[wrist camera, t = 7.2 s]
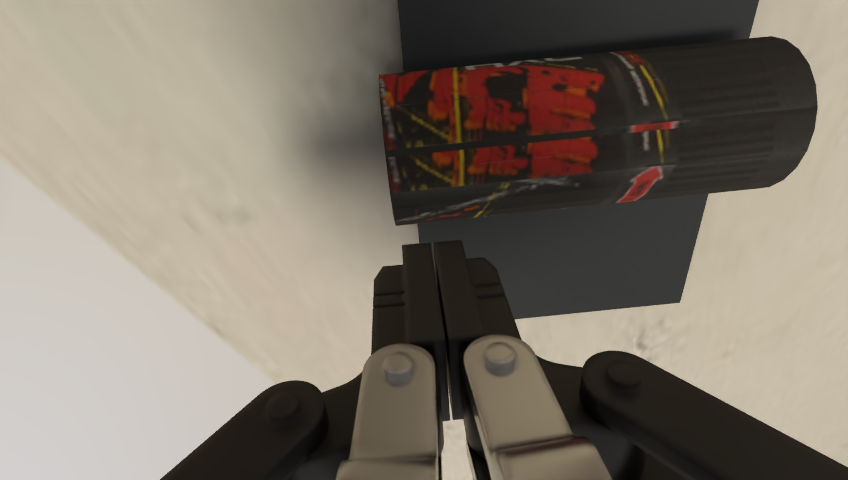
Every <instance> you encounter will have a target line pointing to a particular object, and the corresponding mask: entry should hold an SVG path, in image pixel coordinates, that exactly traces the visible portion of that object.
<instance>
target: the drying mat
mask: <svg viewBox="0 0 848 480" xmlns="http://www.w3.org/2000/svg"><path fill="white" fill-rule="evenodd" d="M758 2H759V0H398V8H399V20H400V31H401V42H402V53H403V64H404V72H414V71H424V70H434V69H444V68H454V67H464V66H475V65H485V64H495V63H505V62H515V61H526V60H536V59H546V58H556V57H566V56H576V55H587V54H597V53H607V52H617V51H627V50H638V49H648V48H658V47H668V46H678V45H689V44H699V43H709V42H719V41H729V40H739V39H749V36H750V33H751V29H752V25H753V21H754V17H755V14H756V10H757V6H758ZM707 197H708V194H698V195H688V196H679V197H669V198H659V199H650V200H640V201H630V202H621V203H611V204H601V205H592V206H582V207H572V208H563V209H553V210H543V211H534V212H524V213H514V214H505V215H495V216H485V217H476V218H466V219H456V220H447V221H437V222H427V223H418V231H419V242H420V243H431V249H432V255H433V242H441V241H452V240H462V243H463V247H464V251H465V255H466V259H470V258H480V257H485V258H486V259H487V260H488V261H489V262H490V263H491V264H492V265H493V266H495V267H496V268H497V271H498V274H499V277H500V280H501V284H502V285H503V288H504V291H505V296H506V297H507V300H508V303H509V306H510V309H511V311H512V314H513V317H514V319H521V318H531V317H541V316H551V315H561V314H571V313H581V312H591V311H601V310H610V309H620V308H630V307H640V306H650V305H660V304H670V303H680V300H681V296H682V293H683V289H684V285H685V281H686V277H687V273H688V270H689V266H690V262H691V258H692V254H693V251H694V247H695V243H696V239H697V235H698V231H699V228H700V224H701V220H702V216H703V212H704V208H705V205H706V201H707ZM433 262H434V257H433Z"/></svg>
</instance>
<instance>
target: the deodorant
mask: <svg viewBox="0 0 848 480" xmlns="http://www.w3.org/2000/svg"><path fill="white" fill-rule="evenodd" d="M379 91H380V105H381V116H382V127H383V136H384V146H385V155H386V163H387V172H388V180H389V188H390V195H391V202H392V209H393V215H394V220H395V224H396V226H398V225H408V224H418V223H427V222H437V221H447V220H456V219H466V218H476V217H485V216H495V215H505V214H514V213H524V212H534V211H543V210H553V209H563V208H572V207H582V206H592V205H601V204H611V203H621V202H630V201H640V200H650V199H659V198H669V197H679V196H688V195H698V194H708V193H717V192H727V191H737V190H746V189H756V188H764V187H770V186H772V185H774V184H776V183H778V182H780V181H782V180H784V179H785V178H786V177H787V176H788V175H789V174H790V173H791V172H792V171H793V170H794V169H795V168H796V167H797V166H798V164H799V163H800V161H801V159H802V158H803V156H804V155H805V153H806V152H807V149H808V147H809V144H810V141H811V138H812V135H813V132H814V130H815V122H816V115H817V107H818V106H817V94H816V84H815V81H814V77H813V74H812V71H811V68H810V65H809V63H808V62H807V60H806V59H805V57H804V56H803V55H802V53H801V52H800V50H799V49H798V48H797V47H795V46H794V45H792V44H791V43H790V42H788V41H787V40H785V39H780V38H776V37H772V36H770V37H760V38H750V39H739V40H729V41H719V42H709V43H699V44H689V45H678V46H668V47H658V48H648V49H638V50H627V51H617V52H607V53H597V54H587V55H576V56H566V57H556V58H546V59H536V60H526V61H515V62H505V63H495V64H485V65H475V66H464V67H454V68H444V69H434V70H424V71H414V72H403V73H393V74H383V75H379Z"/></svg>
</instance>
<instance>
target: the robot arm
mask: <svg viewBox="0 0 848 480" xmlns="http://www.w3.org/2000/svg"><path fill="white" fill-rule="evenodd" d="M402 252H403V265H395V266H384V267H382V269H381V270H380V272H379V273H378V275H377V276H376V278H375V279H374V297H373V324H372V351H371V356H370V357H369V358H368V360H367V361H366V363H365V365H364V368H363V371H362V372H361V373H360V374H359V375H358V376H357V377H356V378H354V379H353V380H351V381H349V382H348V383H346V384H343V385H341V386H339V387H336V388H333V389H330V390H328V391H325V392H322V393H321V391H320V390H319V389H318V388H317V387H316V386H314V385H313V384H311V383H308V382H305V381H297V380H296V381H286V382H282V383H279V384H276V385H274V386H272V387H270V388H268V389H266V390H265V391H263V392H262V393H261V394H259V395H258V396H257V397H256V398H255V399H254V400H252V401H251V402H250V403H249V404H248V405H246V406H245V407H244V408H243V409H242V410H241V411H239V412H238V413H237V414H236V415H235V416H234V417H232V418H231V419H230V420H229V421H228V422H227V423H226V424H224V425H223V426H222V427H221V428H220V429H219V430H218V431H216V432H215V433H214V434H213V435H211V436H210V437H209V438H208V439H207V440H206V441H204V442H203V443H202V444H201V445H200V446H199V447H198V448H196V449H195V450H194V451H193V452H192V453H190V454H189V455H188V456H187V457H186V458H185V459H183V460H182V461H181V462H180V463H179V464H178V465H176V466H175V467H174V468H173V469H172V470H171V471H169V472H168V473H167V474H166V475H165V476H164V477H162V478H161V479H160V480H442V450H443V445H444V435H443V421H449V420H450V413H449V396H448V388H449V395H450V402H451V409H452V416H453V420H457V419H464V425H465V431H466V448H467V456H468V460H469V464H470V468H471V472H472V476H473V480H848V467H846V466H844V465H842V464H840V463H838V462H837V461H835V460H833V459H831V458H829V457H827V456H825V455H823V454H821V453H820V452H818V451H816V450H814V449H812V448H810V447H808V446H806V445H804V444H803V443H801V442H799V441H797V440H795V439H793V438H791V437H789V436H788V435H786V434H784V433H782V432H780V431H778V430H776V429H774V428H772V427H771V426H769V425H767V424H765V423H763V422H761V421H759V420H757V419H755V418H754V417H752V416H750V415H748V414H746V413H744V412H742V411H740V410H738V409H737V408H735V407H733V406H731V405H729V404H727V403H725V402H723V401H722V400H720V399H718V398H716V397H714V396H712V395H710V394H708V393H706V392H705V391H703V390H701V389H699V388H697V387H695V386H693V385H691V384H689V383H688V382H686V381H684V380H682V379H680V378H678V377H676V376H674V375H672V374H671V373H669V372H667V371H665V370H663V369H661V368H659V367H657V366H656V365H654V364H652V363H650V362H648V361H646V360H644V359H642V358H640V357H638V356H636V355H633V354H630V353H626V352H621V351H604V352H600V353H597V354H595V355H593V356H591V357H590V358H589V359H588V360H587V361H586V362H585V364H584V366H583V368H582V367H576V366H569V365H563V364H557V363H553V362H550V361H547V360H544V359H542V358H540V357H538V356H537V355H535V353H534V351H533V350H532V349H531V347H530V346H529V345H527V344H526V343H525V342H523V341H522V340H521V337H520V335H519V332H518V329H517V326H516V323H515V320H514V317H513V314H512V311H511V309H510V306H509V303H508V300H507V297H506V296H505V291H504V288H503V285H502V284H501V280H500V277H499V274H498V271H497V268H496V267H495V266H493V265H492V264H491V263H490V262H489V261H488V260H487V259H486V258H485V257H480V258H470V259H466V255H465V251H464V247H463V243H462V240H452V241H441V242H433V255H432V249H431V243H420V244H409V245H402ZM433 257H434V262H433Z"/></svg>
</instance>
